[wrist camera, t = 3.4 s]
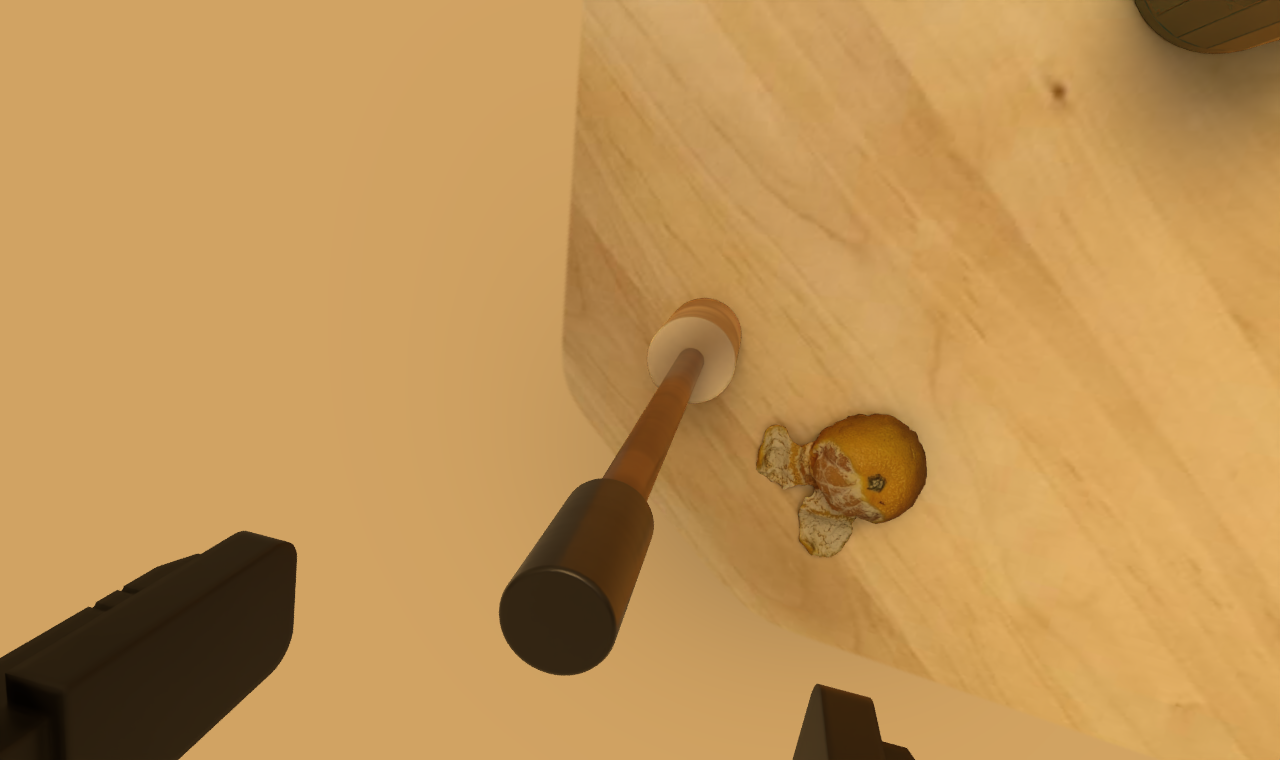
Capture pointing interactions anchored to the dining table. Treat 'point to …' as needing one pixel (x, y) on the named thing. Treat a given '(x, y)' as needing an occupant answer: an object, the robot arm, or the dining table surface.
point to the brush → (615, 508)
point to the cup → (1214, 23)
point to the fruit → (847, 475)
